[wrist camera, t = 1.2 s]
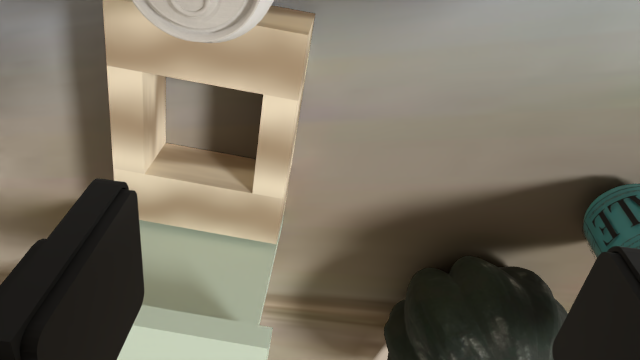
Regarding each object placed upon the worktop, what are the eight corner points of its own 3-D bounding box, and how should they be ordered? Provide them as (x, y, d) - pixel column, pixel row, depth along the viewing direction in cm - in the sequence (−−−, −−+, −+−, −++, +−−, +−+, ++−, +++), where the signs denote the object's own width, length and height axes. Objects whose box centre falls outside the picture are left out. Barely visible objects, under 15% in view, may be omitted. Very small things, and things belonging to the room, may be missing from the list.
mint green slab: (125, 159, 42) (14, 304, 29) (300, 191, 42) (268, 348, 29) (127, 200, 44) (25, 351, 31) (293, 229, 44) (261, 392, 31)
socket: (131, -21, 34) (102, -4, 30) (315, 13, 34) (308, 35, 31) (138, 182, 43) (116, 215, 39) (284, 208, 43) (276, 244, 39)
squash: (342, 388, 46) (478, 543, 37) (365, 255, 39) (546, 406, 29) (448, 323, 54) (584, 436, 45) (485, 202, 47) (659, 307, 37)
